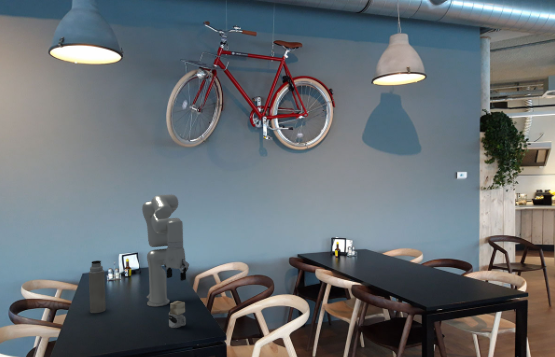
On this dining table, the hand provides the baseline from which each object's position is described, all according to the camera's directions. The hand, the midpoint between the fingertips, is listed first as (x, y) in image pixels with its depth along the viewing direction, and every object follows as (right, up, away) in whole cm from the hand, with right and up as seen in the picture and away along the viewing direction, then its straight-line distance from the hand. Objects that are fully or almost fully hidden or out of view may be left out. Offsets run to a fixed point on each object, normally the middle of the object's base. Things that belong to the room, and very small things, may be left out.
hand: (176, 278), depth 214 cm
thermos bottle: (-50, -24, +26) cm, 61 cm away
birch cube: (+1, -17, -1) cm, 17 cm away
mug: (+1, -24, -1) cm, 24 cm away
